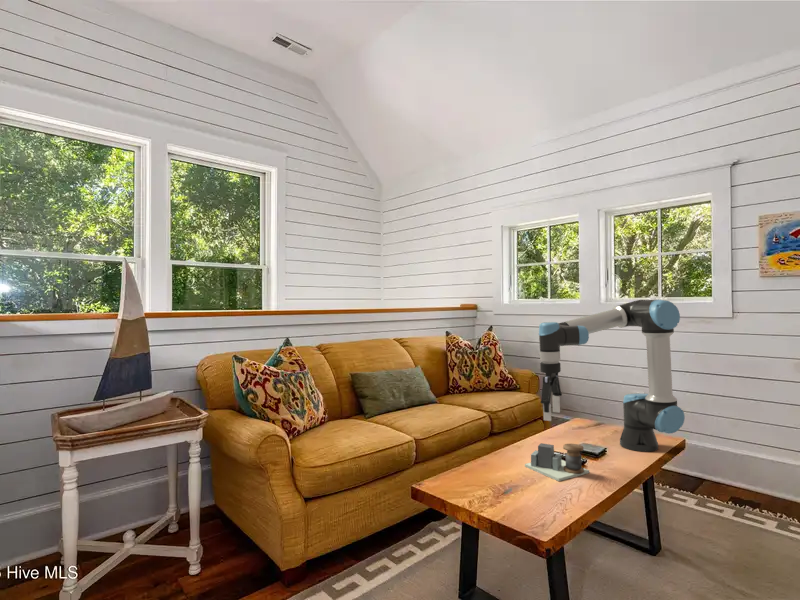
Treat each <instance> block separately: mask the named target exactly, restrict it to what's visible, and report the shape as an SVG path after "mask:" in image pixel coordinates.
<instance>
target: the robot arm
mask: <svg viewBox="0 0 800 600" xmlns="http://www.w3.org/2000/svg"><path fill="white" fill-rule="evenodd" d="M680 315H681V314H680V311H679V308H678V307H677V306H676V304H674V303H673V302H672V301H669V300H664V299H637V300H633V301H629V302H626V303H623V304H620V305H615V306H614V307H613V308H612V309H609V310H606V311H602V312H598V313H594V314H589V315H586V316H583V317H577V318H574V319H570V320H567V321H566V320H565V321H562V322H556V321H551V322H550V321H549V322H540V324H539V328H538V337H539V339H538V340H539V342H538V343H539V353H538V356H539V357H540V358H539V359H540V363H539V364H540V365H539V367H540V369H539V370H540V372H541V373H542V374H543V373H544V374H545V376H542V389H541V400H540V404H542V410H543V421H546V422H547V421H548V422H552V413H558V414H559V413H561V401H560V400H561V397H560V396H562V395H563V393H562V390H561V383H560V379H559V373H561V371H562V370H561V369H562V368H561V363H560V362H561V347H563V346H564V347H565V346H581V345H586V344H587V343H588V342H589V338H590V336H589V335H590V334H594V333H598V332H602V331H605V330H609V329H611V328H616V327H618V328H620V329H621V328H626V327H638V328H641V333H642V335H644V336H645V340H646V343H645V344H646V359H647V361H646V362H647V379H648V381H647V382H648V383H647V384H648V393H628V394H625V395H624V396H623V402H622V404H623V405H622V406H623V408H622V409H623V429H622V431H621V435H620V438H619V445H620V447H622V448H624V449H627V450H631V451H635V452H636V451H637V452H655V451H657V450H658V449H659V442H658V439H657V436H656V434H655V431H654V430H656V431H658V432H659V433H665V434H673V433H676V432H678V431H679V430H680V428H682V427H683V425H684V423H685V417H686V416H685V412H684V411H683V409H682V408H681V407H679V406H678V399H677V397H675V396H674V394H673V376H672V375H673V374H672V373H673V372H672V356H671V355H672V354H671V336H672V335H673V334H674V332H675V328H676V327H677V326H678V324H679V323H680V320H681V316H680ZM551 399H552V402H551Z"/></svg>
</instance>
